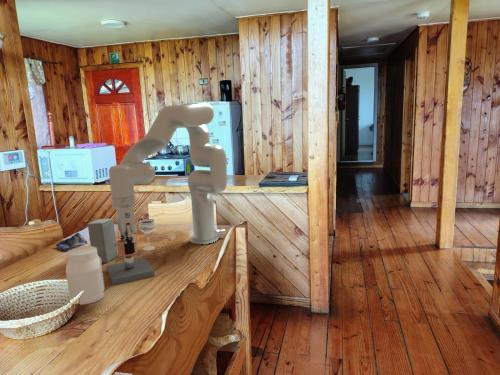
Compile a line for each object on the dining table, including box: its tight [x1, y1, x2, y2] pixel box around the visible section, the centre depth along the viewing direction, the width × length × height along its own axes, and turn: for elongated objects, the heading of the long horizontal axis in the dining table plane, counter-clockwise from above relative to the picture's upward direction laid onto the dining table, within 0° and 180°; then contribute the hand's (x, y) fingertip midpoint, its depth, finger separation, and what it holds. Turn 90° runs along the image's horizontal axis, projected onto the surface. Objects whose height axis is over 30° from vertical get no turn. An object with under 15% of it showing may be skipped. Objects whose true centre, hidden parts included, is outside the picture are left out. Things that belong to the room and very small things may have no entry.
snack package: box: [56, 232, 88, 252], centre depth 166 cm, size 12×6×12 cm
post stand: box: [106, 255, 155, 286], centre depth 135 cm, size 14×14×7 cm
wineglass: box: [138, 218, 156, 251], centre depth 160 cm, size 7×7×12 cm
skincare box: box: [87, 218, 119, 264], centre depth 149 cm, size 8×7×16 cm
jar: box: [65, 245, 105, 306], centre depth 118 cm, size 12×10×15 cm
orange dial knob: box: [116, 237, 139, 257], centre depth 133 cm, size 6×6×5 cm
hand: (128, 250), depth 134 cm, fingers closed on orange dial knob, 6 cm apart
